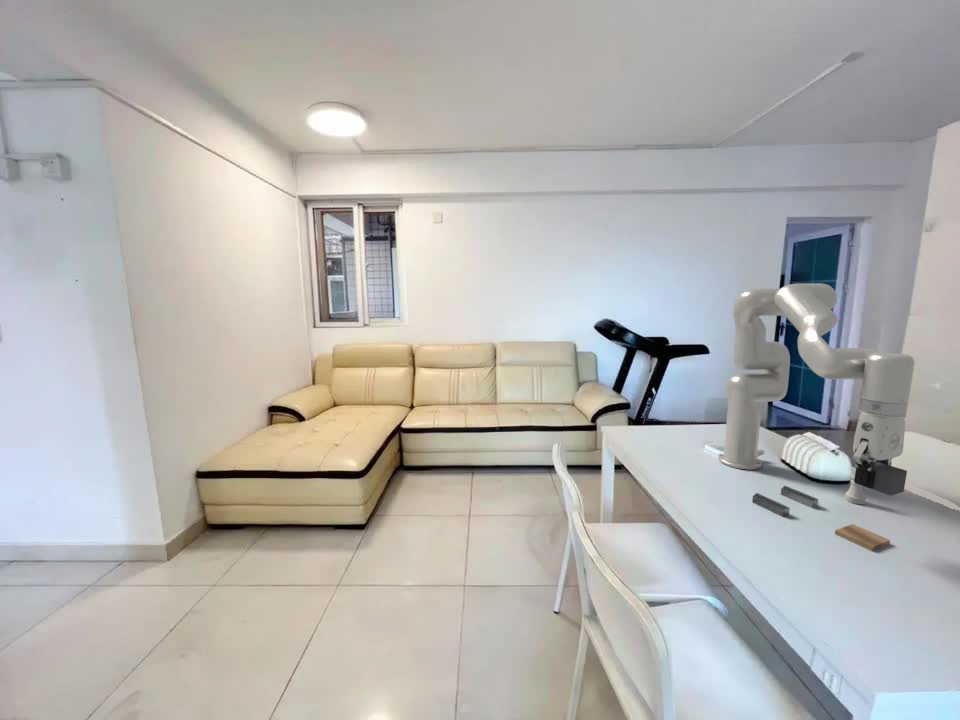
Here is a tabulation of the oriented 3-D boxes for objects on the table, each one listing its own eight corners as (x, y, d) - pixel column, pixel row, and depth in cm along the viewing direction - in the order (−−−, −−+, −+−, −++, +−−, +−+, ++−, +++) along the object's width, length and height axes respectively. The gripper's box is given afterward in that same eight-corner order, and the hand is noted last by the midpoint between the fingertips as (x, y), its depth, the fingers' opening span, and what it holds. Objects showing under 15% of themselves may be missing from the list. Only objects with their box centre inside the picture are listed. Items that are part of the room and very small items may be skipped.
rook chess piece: (861, 499, 110) (865, 472, 109) (868, 506, 106) (873, 479, 105) (840, 495, 112) (844, 469, 111) (847, 503, 108) (851, 476, 107)
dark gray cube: (874, 482, 91) (877, 462, 90) (903, 491, 86) (907, 470, 86) (862, 485, 89) (865, 465, 89) (890, 495, 85) (894, 474, 84)
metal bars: (786, 492, 114) (787, 485, 114) (817, 506, 107) (818, 498, 106) (752, 502, 109) (753, 494, 109) (782, 516, 102) (783, 508, 101)
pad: (852, 527, 96) (852, 524, 96) (889, 544, 90) (890, 540, 90) (834, 533, 94) (835, 530, 94) (871, 551, 88) (872, 547, 87)
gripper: (882, 416, 81) (869, 497, 83) (926, 408, 87) (913, 484, 89) (838, 407, 88) (828, 482, 90) (882, 400, 93) (871, 471, 96)
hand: (870, 482), depth 90 cm, fingers closed on dark gray cube, 5 cm apart
